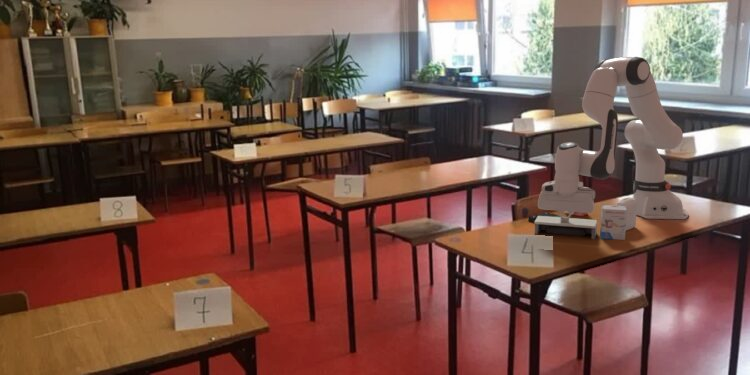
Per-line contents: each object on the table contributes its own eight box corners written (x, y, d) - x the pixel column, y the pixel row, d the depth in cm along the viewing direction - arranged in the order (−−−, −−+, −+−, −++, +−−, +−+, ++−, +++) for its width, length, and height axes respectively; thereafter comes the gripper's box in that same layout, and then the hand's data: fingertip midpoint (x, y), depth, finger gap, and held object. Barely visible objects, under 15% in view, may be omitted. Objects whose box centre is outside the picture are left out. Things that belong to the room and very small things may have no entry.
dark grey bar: (586, 235, 242) (586, 227, 242) (585, 237, 240) (585, 229, 239) (545, 231, 248) (546, 224, 247) (544, 234, 245) (544, 226, 245)
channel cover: (596, 222, 242) (597, 220, 242) (595, 228, 234) (595, 226, 234) (538, 217, 251) (538, 215, 251) (534, 223, 242) (534, 221, 242)
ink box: (600, 239, 237) (602, 208, 234) (599, 235, 241) (601, 204, 239) (625, 240, 234) (627, 209, 232) (623, 236, 239) (625, 205, 236)
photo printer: (623, 232, 243) (624, 201, 240) (612, 230, 246) (614, 199, 243) (637, 227, 249) (639, 196, 246) (627, 225, 252) (628, 194, 250)
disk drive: (527, 222, 263) (555, 230, 251) (527, 215, 262) (555, 223, 250) (545, 218, 268) (573, 225, 256) (545, 211, 268) (573, 218, 255)
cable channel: (596, 233, 243) (596, 222, 242) (594, 239, 236) (595, 227, 235) (537, 228, 252) (538, 217, 251) (534, 234, 245) (535, 223, 244)
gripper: (596, 186, 236) (594, 222, 240) (540, 183, 244) (539, 217, 247) (594, 190, 231) (593, 226, 234) (537, 186, 239) (536, 221, 242)
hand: (564, 221), depth 241 cm, fingers closed, pressing on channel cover
